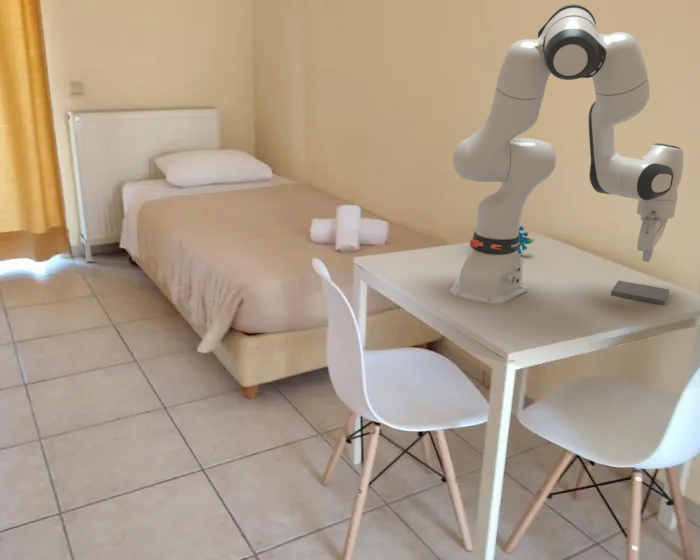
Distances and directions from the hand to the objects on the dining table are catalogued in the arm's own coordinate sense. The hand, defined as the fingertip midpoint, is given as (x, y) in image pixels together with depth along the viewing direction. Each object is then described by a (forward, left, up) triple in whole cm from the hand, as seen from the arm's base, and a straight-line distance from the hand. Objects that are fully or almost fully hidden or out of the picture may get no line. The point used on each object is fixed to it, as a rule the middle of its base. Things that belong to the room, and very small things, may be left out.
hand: (646, 260), depth 173 cm
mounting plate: (0, 0, -10) cm, 10 cm away
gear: (+18, +39, -10) cm, 44 cm away
